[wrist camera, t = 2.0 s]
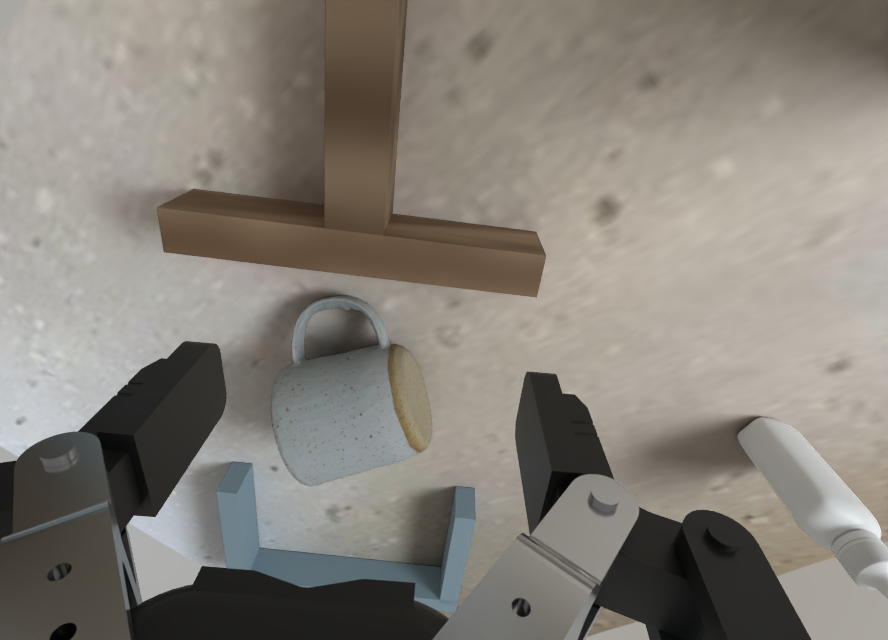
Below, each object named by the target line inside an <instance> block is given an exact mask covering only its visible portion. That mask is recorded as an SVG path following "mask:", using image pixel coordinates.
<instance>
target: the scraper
mask: <svg viewBox="0 0 888 640" xmlns="http://www.w3.org/2000/svg"><path fill="white" fill-rule="evenodd" d="M406 13H407V0H325V205H318V204H310V203H302V202H294V201H286V200H278V199H270V198H262V197H254V196H247V195H239V194H231V193H223V192H215V191H207V190H199V189H193V190H191V191H189V192H187V193H185V194H183V195H181V196H179V197H177V198H175V199H173V200H171V201H169V202H167V203H165V204H163V205H161V206H159V207H157V212H158V219H159V225H160V231H161V237H162V244H163V250H164V252H167V253H176V254H184V255H192V256H200V257H208V258H217V259H225V260H233V261H241V262H250V263H258V264H266V265H274V266H283V267H291V268H299V269H307V270H316V271H324V272H332V273H340V274H348V275H357V276H365V277H373V278H381V279H390V280H398V281H406V282H414V283H423V284H431V285H439V286H447V287H456V288H464V289H472V290H480V291H488V292H497V293H505V294H513V295H521V296H530V297H537V294H538V289H539V285H540V281H541V276H542V272H543V268H544V263H545V259H546V254H545V252H544V249H543V247H542V245H541V242H540V240H539V237H538V235H537V233H536V232H534V231H526V230H518V229H510V228H502V227H494V226H486V225H478V224H470V223H462V222H454V221H446V220H438V219H430V218H422V217H414V216H406V215H398V214H392V211H393V197H394V183H395V169H396V155H397V140H398V126H399V112H400V98H401V84H402V70H403V55H404V41H405V27H406Z"/></svg>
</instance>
